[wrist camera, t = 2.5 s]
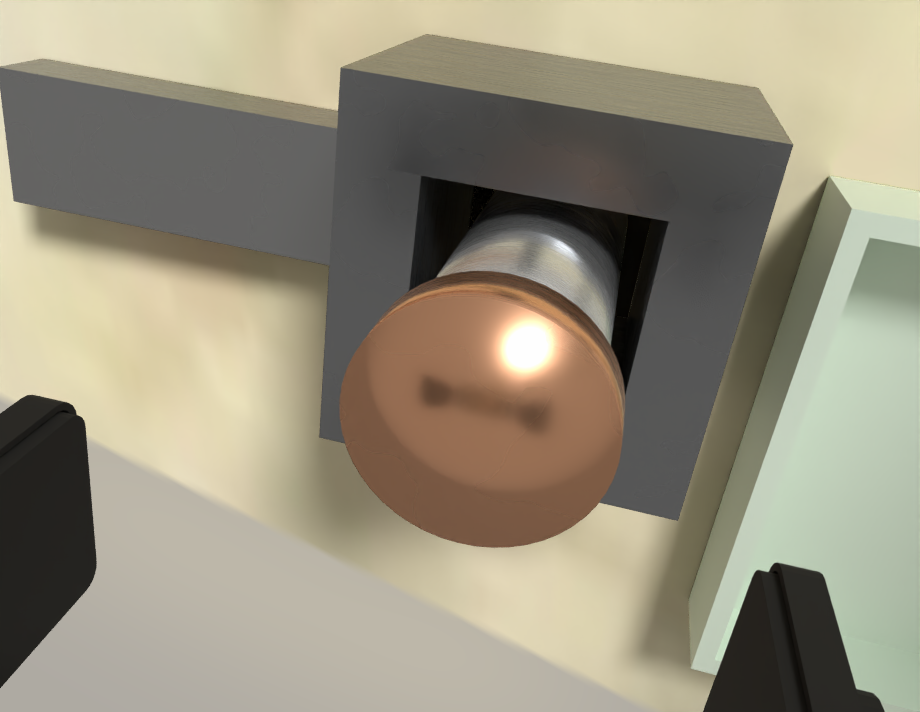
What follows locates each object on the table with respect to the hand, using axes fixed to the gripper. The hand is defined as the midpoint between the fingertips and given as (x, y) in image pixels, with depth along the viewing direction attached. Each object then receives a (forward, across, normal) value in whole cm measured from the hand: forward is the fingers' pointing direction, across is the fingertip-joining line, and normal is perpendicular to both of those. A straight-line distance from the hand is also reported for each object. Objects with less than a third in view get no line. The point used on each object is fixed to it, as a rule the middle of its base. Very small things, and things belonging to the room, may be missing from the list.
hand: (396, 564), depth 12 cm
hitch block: (+16, +5, -1) cm, 16 cm away
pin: (+15, -1, -1) cm, 15 cm away
